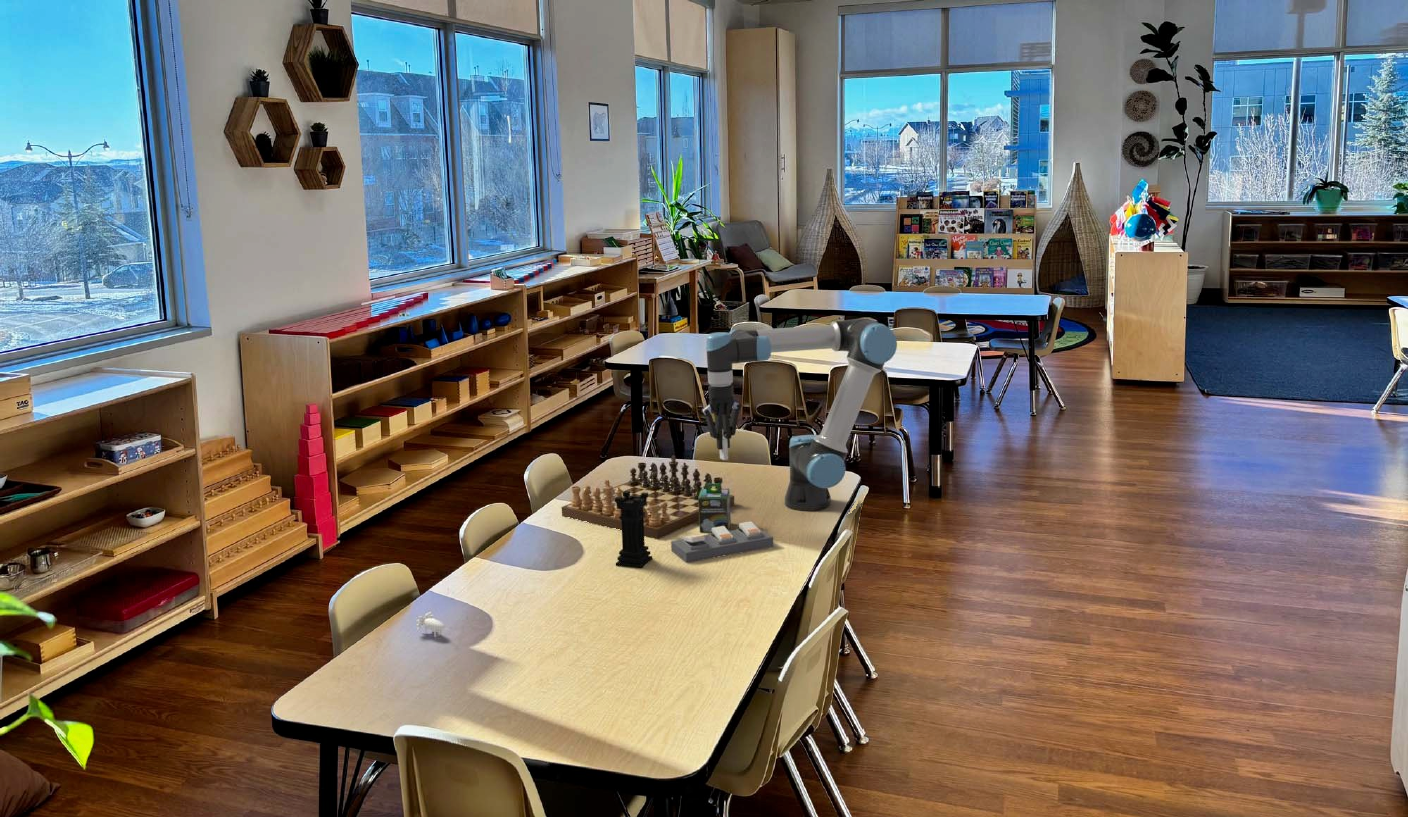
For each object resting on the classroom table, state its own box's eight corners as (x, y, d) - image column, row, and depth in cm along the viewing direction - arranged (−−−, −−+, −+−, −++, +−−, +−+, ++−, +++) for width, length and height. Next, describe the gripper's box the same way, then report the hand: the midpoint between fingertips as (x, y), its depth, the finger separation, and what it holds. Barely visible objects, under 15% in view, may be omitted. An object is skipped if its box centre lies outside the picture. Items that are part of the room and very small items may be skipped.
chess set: (657, 540, 337) (655, 494, 334) (562, 517, 361) (559, 473, 357) (734, 506, 368) (733, 463, 365) (642, 487, 392) (640, 446, 388)
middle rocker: (723, 528, 330) (723, 525, 329) (732, 539, 325) (733, 536, 324) (711, 530, 328) (711, 527, 328) (720, 541, 323) (720, 538, 323)
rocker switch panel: (756, 535, 338) (756, 523, 337) (773, 546, 328) (773, 534, 327) (671, 550, 327) (670, 538, 326) (686, 562, 317) (686, 550, 316)
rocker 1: (696, 538, 327) (695, 534, 327) (704, 540, 321) (704, 536, 321) (683, 540, 325) (683, 536, 325) (692, 542, 319) (691, 538, 319)
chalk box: (731, 523, 350) (730, 478, 346) (728, 533, 341) (727, 486, 338) (701, 523, 351) (700, 477, 347) (698, 532, 342) (697, 486, 339)
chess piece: (652, 558, 321) (649, 492, 316) (641, 568, 313) (639, 500, 309) (626, 556, 323) (624, 490, 319) (615, 565, 316) (612, 498, 312)
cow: (412, 633, 274) (410, 615, 273) (429, 626, 278) (428, 608, 277) (444, 645, 267) (442, 627, 266) (461, 638, 271) (459, 619, 270)
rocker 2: (750, 524, 334) (751, 520, 333) (760, 534, 328) (760, 531, 328) (738, 526, 332) (739, 523, 331) (748, 536, 327) (748, 533, 326)
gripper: (733, 379, 343) (736, 452, 348) (695, 384, 337) (699, 459, 343) (745, 383, 336) (748, 458, 342) (707, 389, 331) (710, 465, 336)
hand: (724, 458), depth 342 cm, fingers closed
